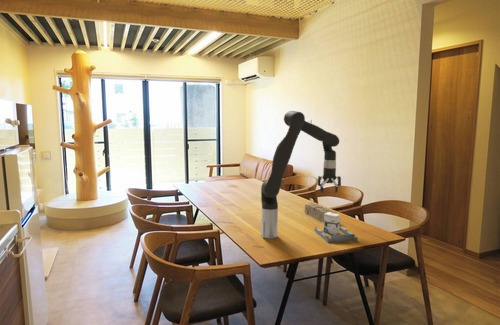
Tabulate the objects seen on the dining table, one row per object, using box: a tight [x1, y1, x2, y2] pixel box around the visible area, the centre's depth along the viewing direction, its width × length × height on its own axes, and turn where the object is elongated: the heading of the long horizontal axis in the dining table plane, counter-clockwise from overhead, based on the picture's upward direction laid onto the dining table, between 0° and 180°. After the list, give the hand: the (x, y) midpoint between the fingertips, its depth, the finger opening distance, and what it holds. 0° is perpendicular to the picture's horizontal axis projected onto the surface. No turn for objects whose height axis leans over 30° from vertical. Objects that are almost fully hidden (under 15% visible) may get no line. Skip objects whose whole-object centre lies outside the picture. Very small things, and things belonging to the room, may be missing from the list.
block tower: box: [304, 202, 338, 224], centre depth 235 cm, size 8×8×29 cm
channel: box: [313, 225, 359, 243], centre depth 199 cm, size 18×21×4 cm
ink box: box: [323, 212, 341, 235], centre depth 204 cm, size 8×5×12 cm, turn 45°
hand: (328, 192), depth 211 cm, fingers open, 8 cm apart
